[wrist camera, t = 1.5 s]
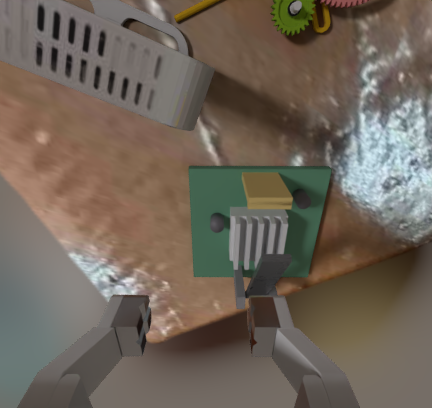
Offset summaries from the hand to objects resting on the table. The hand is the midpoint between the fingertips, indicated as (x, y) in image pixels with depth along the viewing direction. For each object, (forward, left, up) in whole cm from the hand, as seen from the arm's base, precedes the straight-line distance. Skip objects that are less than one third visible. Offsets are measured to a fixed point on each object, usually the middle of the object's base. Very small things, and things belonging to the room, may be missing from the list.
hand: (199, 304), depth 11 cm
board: (-7, +13, -27) cm, 31 cm away
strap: (-7, +15, -17) cm, 23 cm away
